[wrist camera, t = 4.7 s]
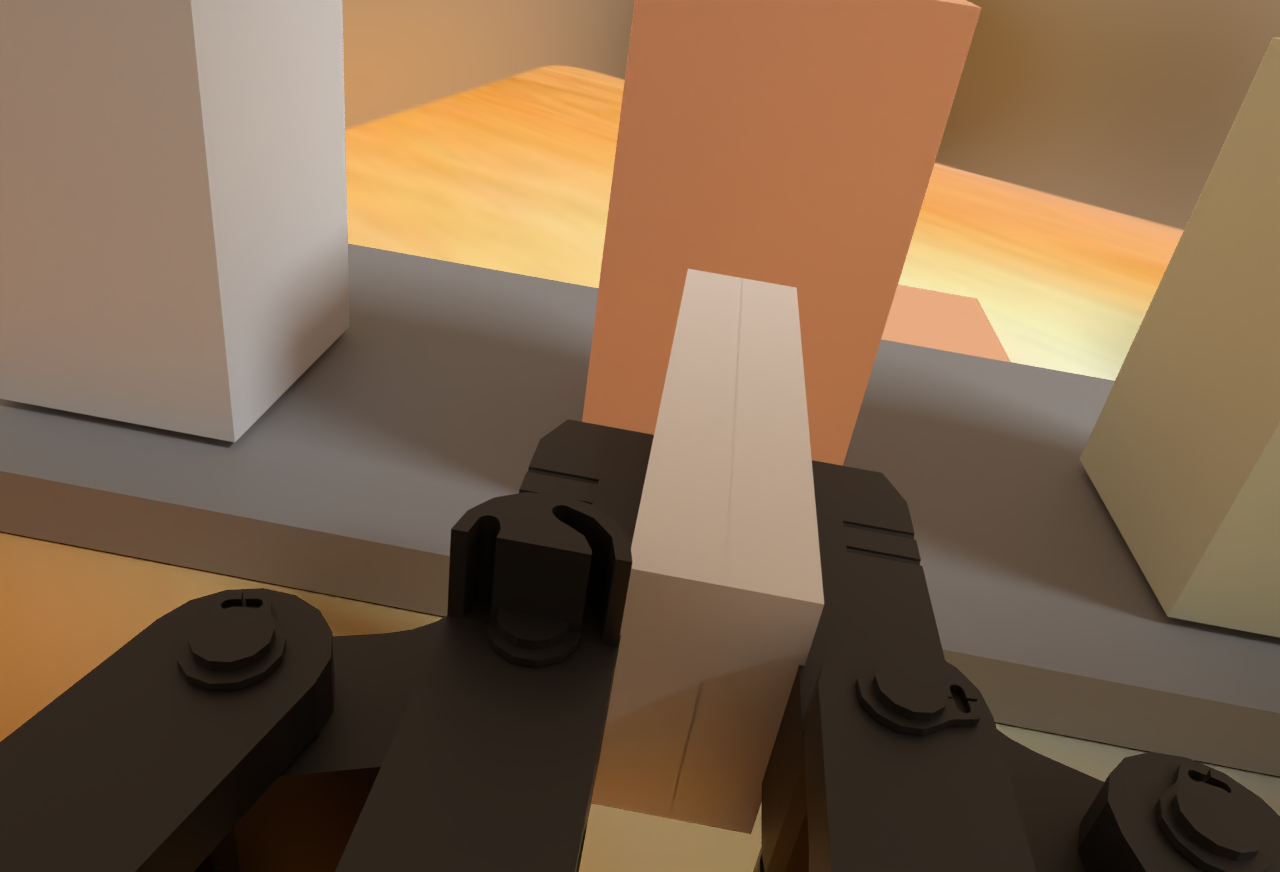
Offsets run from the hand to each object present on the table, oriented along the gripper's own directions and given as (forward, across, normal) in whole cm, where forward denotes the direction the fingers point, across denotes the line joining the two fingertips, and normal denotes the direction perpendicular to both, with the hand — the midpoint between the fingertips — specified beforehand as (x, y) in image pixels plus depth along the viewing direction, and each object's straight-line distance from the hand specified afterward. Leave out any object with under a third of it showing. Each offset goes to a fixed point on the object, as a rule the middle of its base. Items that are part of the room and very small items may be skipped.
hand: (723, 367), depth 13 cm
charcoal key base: (+8, 0, -7) cm, 11 cm away
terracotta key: (+6, 0, -5) cm, 8 cm away
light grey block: (+6, -12, -5) cm, 14 cm away
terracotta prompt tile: (+20, +7, -7) cm, 23 cm away
